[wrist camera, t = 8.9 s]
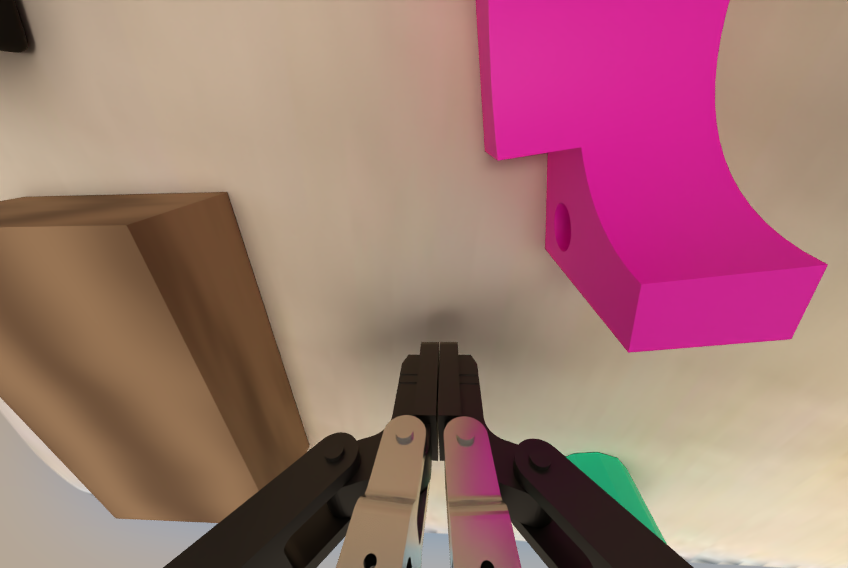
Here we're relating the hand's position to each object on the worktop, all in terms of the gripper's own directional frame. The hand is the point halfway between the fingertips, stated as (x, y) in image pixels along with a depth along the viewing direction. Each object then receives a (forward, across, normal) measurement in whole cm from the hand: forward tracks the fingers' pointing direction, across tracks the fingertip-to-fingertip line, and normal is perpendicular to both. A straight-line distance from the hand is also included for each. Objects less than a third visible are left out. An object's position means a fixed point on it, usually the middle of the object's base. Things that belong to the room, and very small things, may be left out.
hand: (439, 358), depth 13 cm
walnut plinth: (+4, +15, +2) cm, 15 cm away
